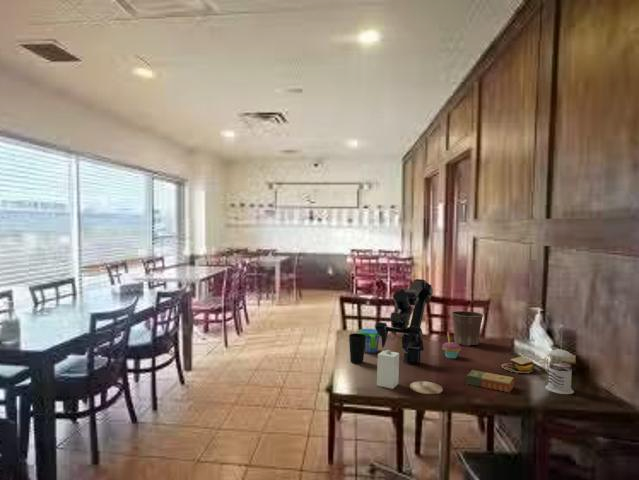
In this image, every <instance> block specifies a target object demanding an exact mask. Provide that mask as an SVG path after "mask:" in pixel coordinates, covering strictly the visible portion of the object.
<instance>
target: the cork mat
mask: <svg viewBox="0 0 639 480" xmlns="http://www.w3.org/2000/svg"><path fill="white" fill-rule="evenodd" d="M423 382H424V381H423V380H422V381H421V380H420V381H419V380H418V381H414V382H411V383H410V385H409V388H410V389H411V390H412V391H414V392H416V393H419V394H423V395H437V394H441V393H442V392H443V390H444V389H443V386H441V385H440V384H437V383H435V382H430V381H429V382H430V388H424V387H423Z"/></svg>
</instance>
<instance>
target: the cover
mask: <svg viewBox="0 0 639 480" xmlns="http://www.w3.org/2000/svg"><path fill="white" fill-rule="evenodd" d="M399 367H400V352H396V351H395V352H394V351H392V350H391V349H386V350H382V351H381V352H379V353H378V354H377V367H376V386H378V387H383V388H387V389H392V390H393V389H394V388H395V387H397V385H398V386H399V372H400V371H399V370H400V368H399Z"/></svg>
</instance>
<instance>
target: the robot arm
mask: <svg viewBox="0 0 639 480" xmlns="http://www.w3.org/2000/svg"><path fill="white" fill-rule="evenodd" d="M433 290H434V289H433V287H432V284H430V283H428V282H427V281H426V279H424V278H422V279H420V278H416V279H413V282H412V283H411V285H410V286H409V287H408V289H405V288H400V289H399V290H398V291H396V292H394V293H393V296H392V299H393V300H394V305H395V307H396V309H397V312H391V313H390V317H389V318H390V319H389V321H390V322H391V325H392V326H388V325H387V322H383V321H382V322H381V321H377V322H376V323H375V327H374V329H376V330H377V333H378V334H379V335H380V337H381V347H382V349H384V348H385V345H386V342H387V339H388V334H389V332H390V333H397V334H400V335H401V334H402V337H401V345H402V346H401V348H402V349H404V352H403V359H402V362H404V363H406V364H408V365H421V364H423V362H422V361H421V355H422V354H421V352H423V351H424V350H425V343H424V340H423V337H424V333H423V329H422V327H421V326H422V321H423V316H424V311H425V308H426V304H427V303H428V302H429V301H431V298H432V296H433ZM412 306H414V307H412ZM410 320H411V321H410Z"/></svg>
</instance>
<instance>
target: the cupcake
mask: <svg viewBox="0 0 639 480" xmlns="http://www.w3.org/2000/svg"><path fill="white" fill-rule="evenodd" d="M446 335H447V341H446V342H444V343H443V344H442V345H441V347H442V350H443V351H444V354H445V357H446V358H448V359H456V358H457V356H458V354H459V352H461V350H462V345H461V344H457V343H455V341H450V333H449V331H447V334H446ZM460 345H461V346H460Z"/></svg>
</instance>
